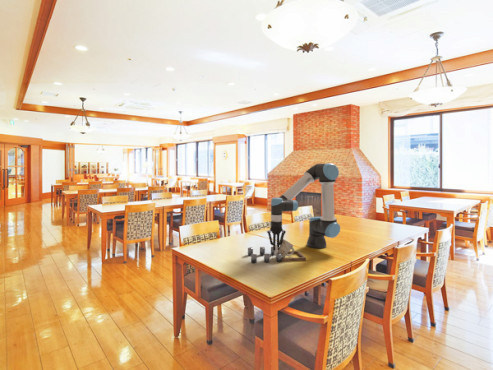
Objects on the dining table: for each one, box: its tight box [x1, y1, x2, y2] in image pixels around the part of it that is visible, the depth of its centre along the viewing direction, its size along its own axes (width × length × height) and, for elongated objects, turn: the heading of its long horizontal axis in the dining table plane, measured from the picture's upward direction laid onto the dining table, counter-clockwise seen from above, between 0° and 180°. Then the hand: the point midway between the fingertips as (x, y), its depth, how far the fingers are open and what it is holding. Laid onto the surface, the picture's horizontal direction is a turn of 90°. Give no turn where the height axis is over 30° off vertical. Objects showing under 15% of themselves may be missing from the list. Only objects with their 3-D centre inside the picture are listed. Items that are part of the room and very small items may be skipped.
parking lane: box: [282, 250, 307, 262], centre depth 189 cm, size 16×16×2 cm
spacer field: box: [247, 246, 283, 264], centre depth 186 cm, size 20×19×5 cm
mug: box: [278, 238, 295, 258], centre depth 189 cm, size 8×13×10 cm
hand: (275, 254), depth 187 cm, fingers closed
